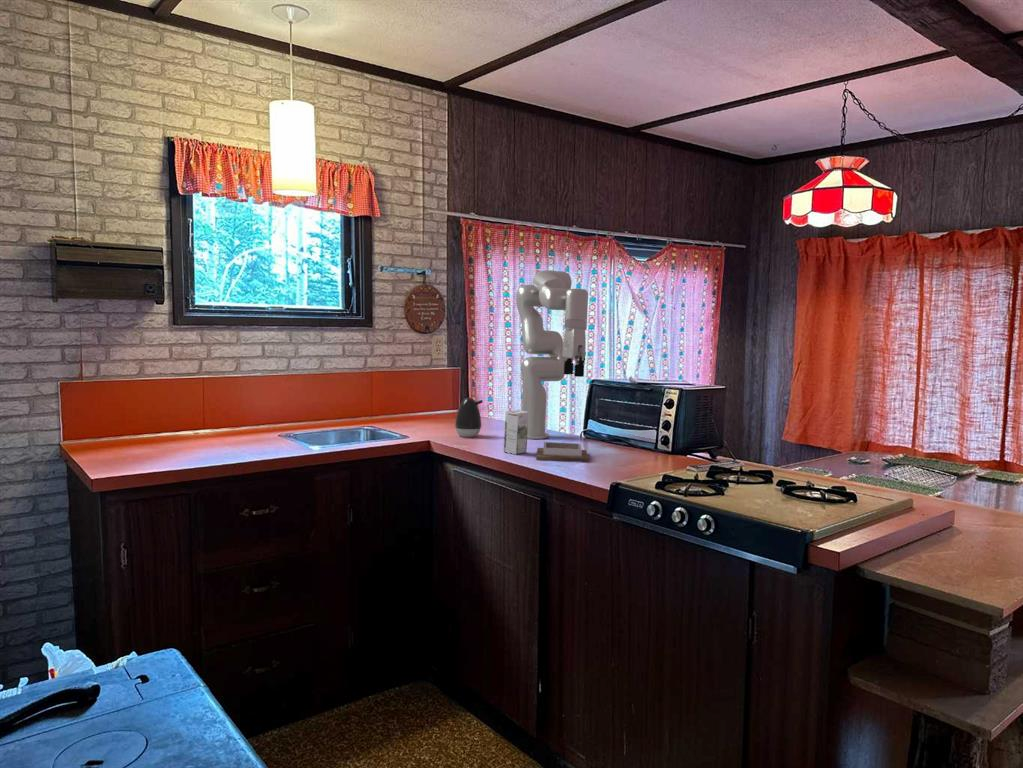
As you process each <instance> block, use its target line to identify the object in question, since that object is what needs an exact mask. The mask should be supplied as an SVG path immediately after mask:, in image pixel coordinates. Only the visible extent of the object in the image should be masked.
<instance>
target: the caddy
mask: <svg viewBox="0 0 1023 768" xmlns="http://www.w3.org/2000/svg"><path fill="white" fill-rule="evenodd" d="M535 457H536V459H535V460H536V461H548V460H555V461H554V462H570V461H582V462H581V463H589V455H588V452H587V449H582V445H581V443H576V442H575V443H574V442H573V443H572V442H555V441H554V442H551V441H549V442H548V441H544V442H543V447H537V450H536V456H535Z"/></svg>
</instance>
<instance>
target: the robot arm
mask: <svg viewBox="0 0 1023 768" xmlns="http://www.w3.org/2000/svg"><path fill="white" fill-rule="evenodd" d="M515 296H516V297H515V303H516V308H517V312H518V315H519V317H520V321H521V333H522V335H521V337H522V347H523V350H524V352H525V353H526V354H529V355H544V356H529V357H526V358H524V359H523V360H522V361H521V364H520V371H521V381H522V382H521V383H522V384H521V385H522V389H521V390H522V393H521V397H522V399H521V400H522V401H521V411H526V412H528V431H527V440H528V439H529V440H545V439H548V438H549V437H550V435H549V434H548V433H546V422H547V421H546V420H547V418H546V417H547V416H546V415H547V390H546V388H545V387H544V385H543V384H542V382H560V381H562V380H563V379H564V378H565V376H566V375H573V374H574V377H575V378H577V377H578V378H580V377H583V378H584V375H585V365H586V364H585V363H586V362H585V361H586V355H587V351H586V338H587V337H586V331H587V328H588V305H589V292H588V290H587V289H584V288H572V278H571V275H570V274H569V273H568V272H567V271H562V270H561V271H560V270H545V269H544V270H540V271H537V272H536V273H535V274H534V276H533V278H532V284H524V285H521V286H519V288H517V291H516V295H515ZM535 307H538V308H540V307H542V308H546V309H547V310H551V311H565V312H564V335H563V336H562V335H561V334H560V333H559V332H558V331H555V330H545V329H544V319H543V318H542V315H541V314H540V313H539V311H538V310H537V309H536V308H535ZM545 355H546V356H545ZM573 361H574V362H575V364H574V362H573Z"/></svg>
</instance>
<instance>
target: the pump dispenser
mask: <svg viewBox="0 0 1023 768" xmlns="http://www.w3.org/2000/svg"><path fill="white" fill-rule="evenodd" d="M483 402H484V401H483V400H482V399H481V400H477V401H476V400H475V399H474V398H473V397H465V398H464V399H462V402H461V403H460V405H459V408H458V409H457V413H456V417H455V423H454V428H455V430H456V433H457V435H459V436H460V437H462V438H475V437H477V436H478V435H479V434H480V431H481V428H482V417H481V412H480V409H479V406H478V405H480V404H483Z"/></svg>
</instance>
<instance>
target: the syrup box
mask: <svg viewBox="0 0 1023 768" xmlns="http://www.w3.org/2000/svg"><path fill="white" fill-rule="evenodd" d="M504 421H505V422H504V439H503V453H504V452H507V453H506V454H510V453H512V454H511V455H522V454H526V453H527V449H528V447H527V446H528V439H527V431H528V412H526V411H522V409H521V410H520V409H519V410H518V409H515V410H507V411H505V418H504ZM521 453H522V454H521Z"/></svg>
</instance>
